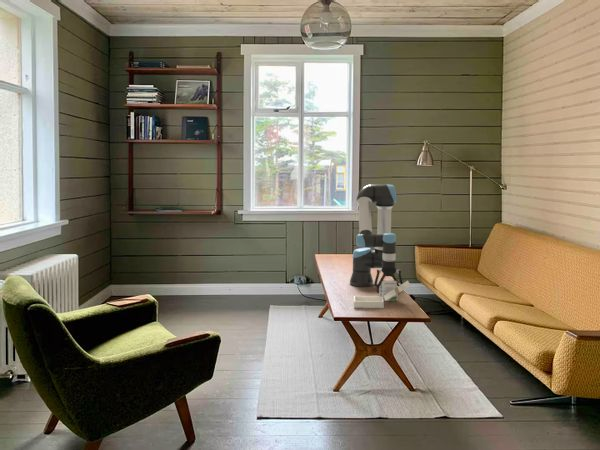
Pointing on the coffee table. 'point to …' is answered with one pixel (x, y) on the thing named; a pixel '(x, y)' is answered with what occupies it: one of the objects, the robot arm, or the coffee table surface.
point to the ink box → (388, 288)
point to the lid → (396, 290)
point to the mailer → (368, 302)
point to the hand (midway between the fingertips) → (388, 298)
